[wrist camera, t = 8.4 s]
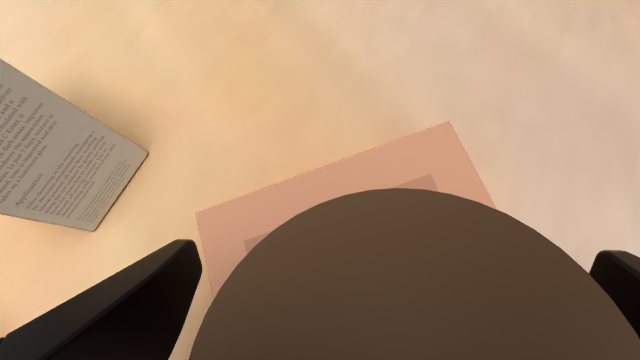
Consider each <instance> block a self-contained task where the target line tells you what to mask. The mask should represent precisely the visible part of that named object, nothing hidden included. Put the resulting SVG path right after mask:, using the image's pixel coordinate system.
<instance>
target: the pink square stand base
mask: <svg viewBox="0 0 640 360" xmlns="http://www.w3.org/2000/svg"><path fill="white" fill-rule="evenodd" d="M388 188H409V189H425V190H431V191H437V192H443V193H449V194H453V195H456V196H460V197H463V198H467V199H470V200H473V201H477V202H480V203H482V204H484V205H487V206H489V207H492V208H494V209H496V207H495V205H494V203H493V202H492V200H491V198H490V196H489V194H488V192H487V190H486V188H485V187H484V185H483V183H482V181H481V179H480V177H479V175H478V174H477V172H476V170H475V168H474V166H473V164H472V162H471V160H470V159H469V157H468V155H467V153H466V151H465V149H464V147H463V146H462V144H461V142H460V140H459V138H458V136H457V134H456V132H455V131H454V129H453V127H452V125H451V123H450V121H447V122H445V123H442V124H439V125H436V126H434V127H431V128H428V129H425V130H423V131H420V132H417V133H414V134H412V135H409V136H406V137H403V138H401V139H398V140H395V141H392V142H390V143H387V144H384V145H381V146H378V147H376V148H373V149H370V150H367V151H365V152H362V153H359V154H356V155H354V156H351V157H348V158H345V159H343V160H340V161H337V162H334V163H332V164H329V165H326V166H323V167H321V168H318V169H315V170H312V171H310V172H307V173H304V174H301V175H299V176H296V177H293V178H290V179H288V180H285V181H282V182H279V183H277V184H274V185H271V186H268V187H266V188H263V189H260V190H257V191H255V192H252V193H249V194H246V195H244V196H241V197H238V198H235V199H233V200H230V201H227V202H224V203H222V204H219V205H216V206H213V207H211V208H208V209H205V210H202V211H200V212H197V213H195V214H196V218H197V223H198V228H199V232H200V237H201V242H202V247H203V251H204V256H205V261H206V266H207V270H208V275H209V280H210V284H211V289H212V294H213V299H214V298H215V297H216V295H217V293H218V291H219V289H220V288H221V287H222V285H223V284H224V282H225V281H226V280H227V278H228V277H229V275H230V274H231V273H232V271H233V270H234V268H235V267H236V266H237V265H238V264H239V263H240V261H241V260H242V259H243V258H244V257H245V256H246V255H247V254H248V253H249V252H250V251H251V250H252V248H253V247H254V246H255V245H257V244H258V243H259V242H260V241H261V240H262V239H264V238H265V237H266V236H267V235H268V234H269V233H271V232H272V231H273V230H274V229H276V228H277V227H279V226H280V225H282V224H283V223H285V222H286V221H288V220H289V219H291V218H292V217H294V216H295V215H297V214H299V213H301V212H303V211H305V210H307V209H309V208H311V207H313V206H315V205H317V204H320V203H322V202H325V201H328V200H331V199H334V198H337V197H340V196H343V195H347V194H352V193H357V192H362V191H367V190H375V189H388ZM496 210H497V209H496Z"/></svg>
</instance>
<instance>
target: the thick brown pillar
mask: <svg viewBox="0 0 640 360" xmlns="http://www.w3.org/2000/svg"><path fill="white" fill-rule="evenodd" d="M189 360H640V339H639V337H638V336H637V334H636V332H635V330H634V329H633V328H632V326H631V325H630V324H629V322H628V321H627V319H626V318H625V317H624V315H623V314H622V312H621V311H620V310H619V308H618V307H617V306H616V304H615V303H614V301H613V300H612V299H611V298H610V297H609V296H608V294H607V293H606V292H605V291H604V290H603V289H602V288H601V287H600V286H599V284H598V283H597V282H596V281H595V280H594V279H593V278H592V277H591V276H590V274H589V273H588V272H587V271H585V270H584V269H583V268H582V267H581V266H580V265H579V264H578V263H577V262H575V261H574V260H573V259H572V258H571V257H570V256H569V255H568V254H567V253H565V252H564V251H563V250H562V249H561V248H559V247H558V246H557V245H555V244H554V243H552V242H551V241H550V240H548V239H547V238H545V237H544V236H543V235H541V234H540V233H539V232H537V231H536V230H534V229H532V228H531V227H529V226H527V225H525V224H524V223H522V222H520V221H518V220H517V219H515V218H513V217H511V216H509V215H508V214H506V213H503V212H501V211H499V210H496V209H494V208H492V207H489V206H487V205H484V204H482V203H480V202H477V201H473V200H470V199H467V198H463V197H460V196H456V195H453V194H449V193H443V192H437V191H431V190H425V189H409V188H388V189H375V190H367V191H362V192H357V193H352V194H347V195H343V196H340V197H337V198H334V199H331V200H328V201H325V202H322V203H320V204H317V205H315V206H313V207H311V208H309V209H307V210H305V211H303V212H301V213H299V214H297V215H295V216H294V217H292V218H291V219H289V220H288V221H286V222H285V223H283V224H282V225H280V226H279V227H277V228H276V229H274V230H273V231H272V232H271V233H269V234H268V235H267V236H266V237H265V238H264V239H262V240H261V241H260V242H259V243H258V244H257V245H255V246H254V247H253V248H252V250H251V251H250V252H249V253H248V254H247V255H246V256H245V257H244V258H243V259H242V260H241V261H240V263H239V264H238V265H237V266H236V267H235V268H234V270H233V271H232V273H231V274H230V275H229V277H228V278H227V280H226V281H225V282H224V284H223V285H222V287H221V288H220V289H219V291H218V293H217V295H216V297H215V298H214V300H213V302H212V304H211V306H210V307H209V309H208V311H207V313H206V315H205V317H204V319H203V322H202V324H201V327H200V329H199V331H198V334H197V336H196V339H195V341H194V344H193V347H192V351H191V354H190V357H189Z"/></svg>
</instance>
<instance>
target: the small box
mask: <svg viewBox="0 0 640 360" xmlns="http://www.w3.org/2000/svg"><path fill="white" fill-rule="evenodd" d="M147 154H148V153H147V151H146V150H144V149H143V148H141V147H140V146H138V145H137V144H135V143H133V142H132V141H130V140H129V139H127V138H125V137H124V136H122V135H121V134H119V133H117V132H116V131H114V130H113V129H111V128H109V127H108V126H106V125H105V124H103V123H101V122H100V121H98V120H97V119H95V118H93V117H92V116H90V115H89V114H87V113H86V112H84V111H82V110H81V109H79V108H78V107H76V106H74V105H73V104H71V103H70V102H68V101H67V100H65V99H63V98H62V97H60V96H59V95H57V94H56V93H54V92H52V91H51V90H49V89H48V88H46V87H44V86H43V85H41V84H40V83H38V82H37V81H35V80H33V79H32V78H30V77H29V76H27V75H25V74H24V73H22V72H21V71H19V70H17V69H16V68H14V67H13V66H11V65H10V64H8V63H6V62H5V61H3V60H2V59H0V214H3V215H8V216H13V217H18V218H23V219H28V220H33V221H38V222H44V223H49V224H55V225H60V226H66V227H71V228H76V229H80V230H85V231H91V232H92V231H94V230H95V229H96V227H97V226H98V224H99V223H100V222H101V220H102V219H103V217H104V216H105V214H106V213H107V211H108V210H109V208H110V207H111V206H112V204H113V203H114V201H115V200H116V198H117V197H118V196H119V194H120V193H121V191H122V190H123V188H124V187H125V186H126V184H127V183H128V181H129V180H130V179H131V177H132V176H133V174H134V173H135V172H136V170H137V169H138V167H139V166H140V164H141V163H142V162H143V160H144V159H145V157H146V156H147Z"/></svg>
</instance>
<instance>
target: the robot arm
mask: <svg viewBox="0 0 640 360" xmlns="http://www.w3.org/2000/svg"><path fill="white" fill-rule="evenodd" d="M201 274H202V264H201V260H200V257H199V253H198V250H197V247H196V244H195V242H194V241H193V240H187V239H177V240H174V241H172V242H171V243H169V244H167V245H165V246H164V247H162V248H160V249H158V250H156V251H155V252H153V253H151V254H149V255H148V256H146V257H144V258H142V259H140V260H139V261H137V262H135V263H133V264H132V265H130V266H128V267H126V268H124V269H123V270H121V271H119V272H117V273H116V274H114V275H112V276H110V277H108V278H107V279H105V280H103V281H101V282H99V283H98V284H96V285H94V286H92V287H91V288H89V289H87V290H85V291H83V292H82V293H80V294H78V295H76V296H75V297H73V298H71V299H69V300H67V301H66V302H64V303H62V304H60V305H59V306H57V307H55V308H53V309H51V310H50V311H48V312H46V313H44V314H42V315H41V316H39V317H37V318H35V319H34V320H32V321H30V322H28V323H26V324H25V325H23V326H21V327H19V328H18V329H16V330H14V331H12V332H10V333H9V334H7V335H6V337H2V338H0V360H168V359H169V357H170V355H171V353H172V350H173V348H174V346H175V344H176V342H177V340H178V337H179V335H180V333H181V330H182V328H183V325H184V323H185V320H186V317H187V314H188V311H189V308H190V306H191V303H192V300H193V297H194V294H195V292H196V289H197V286H198V283H199V280H200V278H201ZM589 274H590V276H591V277H592V278H593V279H594V280H595V281H596V282H597V283H598V284H599V286H600V287H601V288H602V289H603V290H604V291H605V292H606V293H607V294H608V296H609V297H610V298H611V299H612V300H613V301H614V303H615V304H616V306H617V307H618V308H619V310H620V311H621V312H622V314H623V315H624V317H625V318H626V319H627V321H628V322H629V324H630V325H631V326H632V328H633V329H634V330H635V332H636V334H637V336H638V337H639V339H640V258H639V257H637V256H635V255H633V254H631V253H629V252H626V251H620V250H603V251H600V252H599V253H598V254H597V256H596V258H595V260H594V263H593V265H592V267H591V270H590V272H589Z"/></svg>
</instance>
